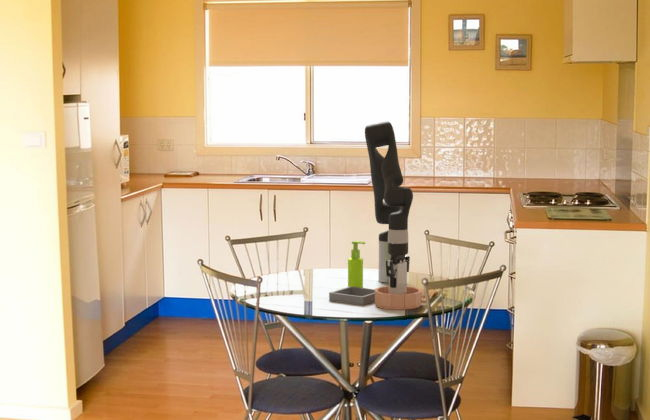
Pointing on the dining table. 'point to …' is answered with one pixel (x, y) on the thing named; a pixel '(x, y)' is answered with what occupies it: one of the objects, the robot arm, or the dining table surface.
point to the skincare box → (400, 279)
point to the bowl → (397, 299)
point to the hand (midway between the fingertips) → (397, 285)
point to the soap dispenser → (355, 267)
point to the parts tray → (353, 295)
